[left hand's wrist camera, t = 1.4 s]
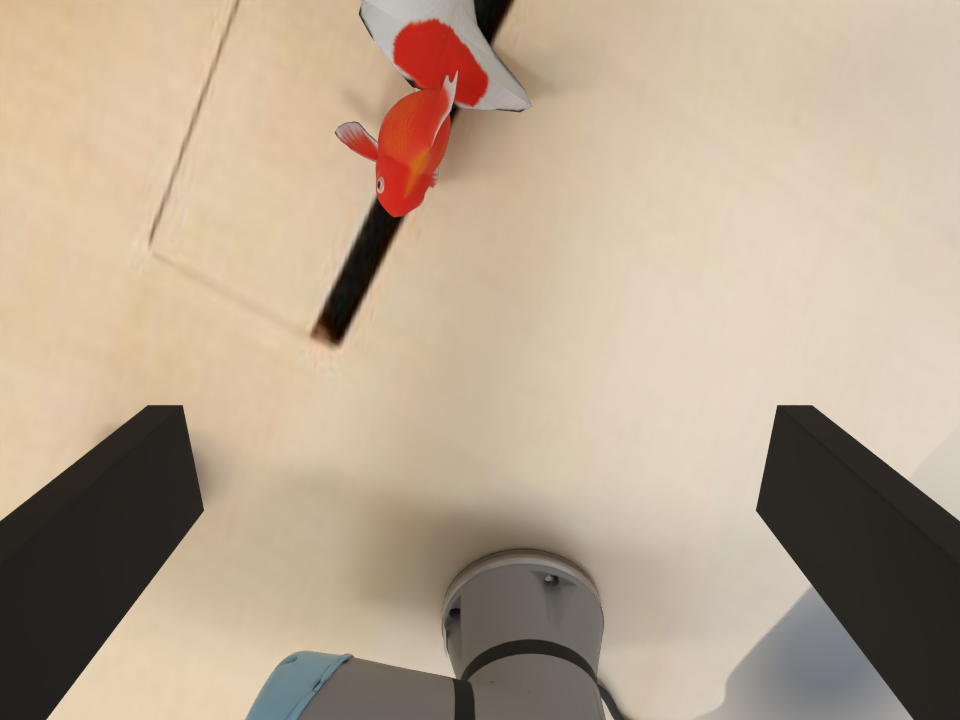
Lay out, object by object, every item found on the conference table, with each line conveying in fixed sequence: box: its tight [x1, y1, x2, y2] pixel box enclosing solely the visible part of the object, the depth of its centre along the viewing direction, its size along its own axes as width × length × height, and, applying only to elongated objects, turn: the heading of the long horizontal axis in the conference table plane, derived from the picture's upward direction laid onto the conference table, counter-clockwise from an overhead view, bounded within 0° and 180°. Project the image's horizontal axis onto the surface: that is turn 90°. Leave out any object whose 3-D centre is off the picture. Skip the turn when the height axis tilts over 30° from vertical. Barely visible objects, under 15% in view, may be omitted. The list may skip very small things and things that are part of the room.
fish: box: [335, 0, 532, 217], centre depth 35 cm, size 11×16×10 cm
